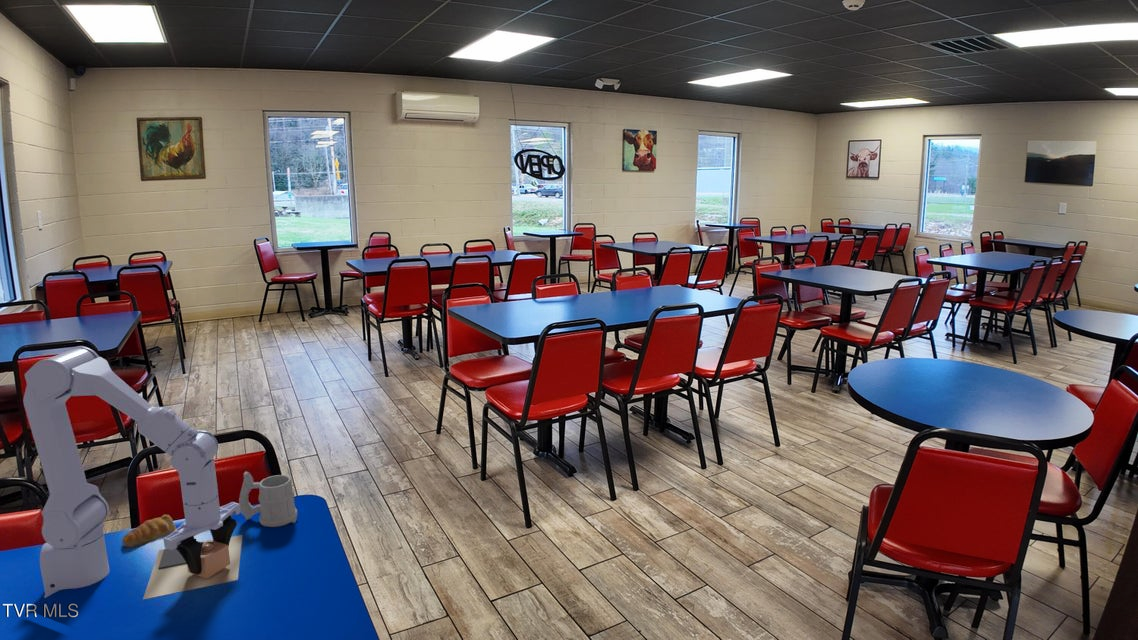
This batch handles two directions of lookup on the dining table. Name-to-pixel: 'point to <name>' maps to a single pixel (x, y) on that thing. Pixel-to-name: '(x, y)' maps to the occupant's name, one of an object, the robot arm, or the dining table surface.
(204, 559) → the beige toy brick
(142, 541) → the pastry
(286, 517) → the mug
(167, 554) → the rest pad
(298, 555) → the dining table surface
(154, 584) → the base board
